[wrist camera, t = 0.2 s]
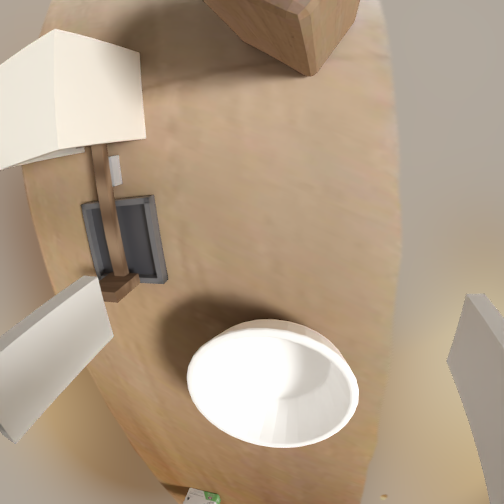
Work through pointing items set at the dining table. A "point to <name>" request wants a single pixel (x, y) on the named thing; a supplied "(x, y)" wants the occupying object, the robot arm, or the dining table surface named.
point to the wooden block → (290, 27)
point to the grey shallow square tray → (129, 238)
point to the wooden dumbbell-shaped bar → (111, 231)
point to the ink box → (201, 497)
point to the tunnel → (69, 99)
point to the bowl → (273, 384)
